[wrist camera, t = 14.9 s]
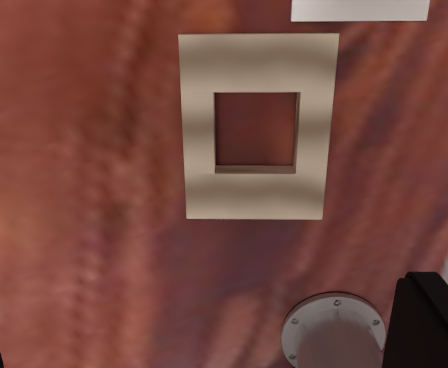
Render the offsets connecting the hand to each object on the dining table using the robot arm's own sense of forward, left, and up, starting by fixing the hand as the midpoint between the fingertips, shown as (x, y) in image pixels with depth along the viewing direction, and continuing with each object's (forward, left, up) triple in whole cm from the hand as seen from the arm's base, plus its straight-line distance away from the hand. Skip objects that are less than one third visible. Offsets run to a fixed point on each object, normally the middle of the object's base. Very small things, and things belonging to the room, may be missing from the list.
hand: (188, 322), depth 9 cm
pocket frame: (-4, -3, -33) cm, 34 cm away
